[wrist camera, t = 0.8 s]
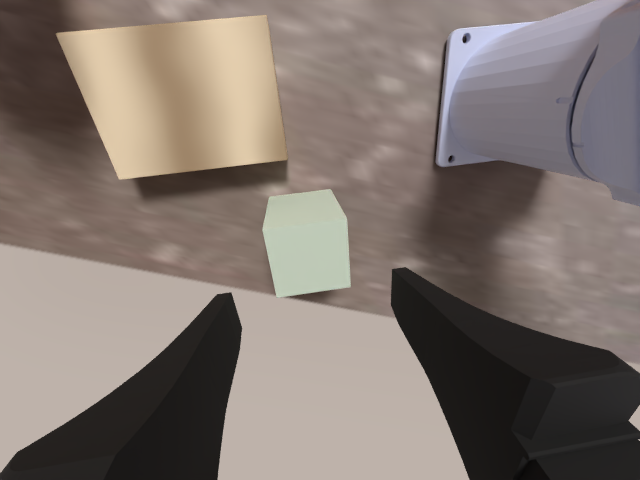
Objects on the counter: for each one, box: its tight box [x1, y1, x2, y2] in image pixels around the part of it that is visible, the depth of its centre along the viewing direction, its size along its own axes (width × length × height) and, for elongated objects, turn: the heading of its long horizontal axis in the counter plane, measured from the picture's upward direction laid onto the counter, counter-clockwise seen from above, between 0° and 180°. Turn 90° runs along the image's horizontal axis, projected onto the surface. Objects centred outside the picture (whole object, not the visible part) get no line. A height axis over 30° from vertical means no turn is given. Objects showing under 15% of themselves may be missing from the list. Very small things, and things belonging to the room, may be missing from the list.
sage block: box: [263, 189, 351, 298], centre depth 18 cm, size 4×4×6 cm
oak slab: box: [56, 15, 288, 180], centre depth 15 cm, size 10×7×2 cm
